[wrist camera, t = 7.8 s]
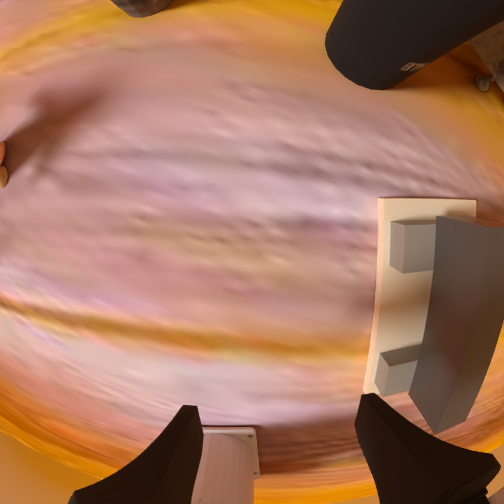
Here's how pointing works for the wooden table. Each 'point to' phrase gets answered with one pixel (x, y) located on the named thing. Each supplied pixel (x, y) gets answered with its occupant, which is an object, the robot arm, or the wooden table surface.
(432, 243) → the stand
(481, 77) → the tabletop clock
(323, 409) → the wooden table surface
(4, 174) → the grandmother figurine
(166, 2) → the beverage cup
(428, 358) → the handle bar
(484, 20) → the wine bottle
